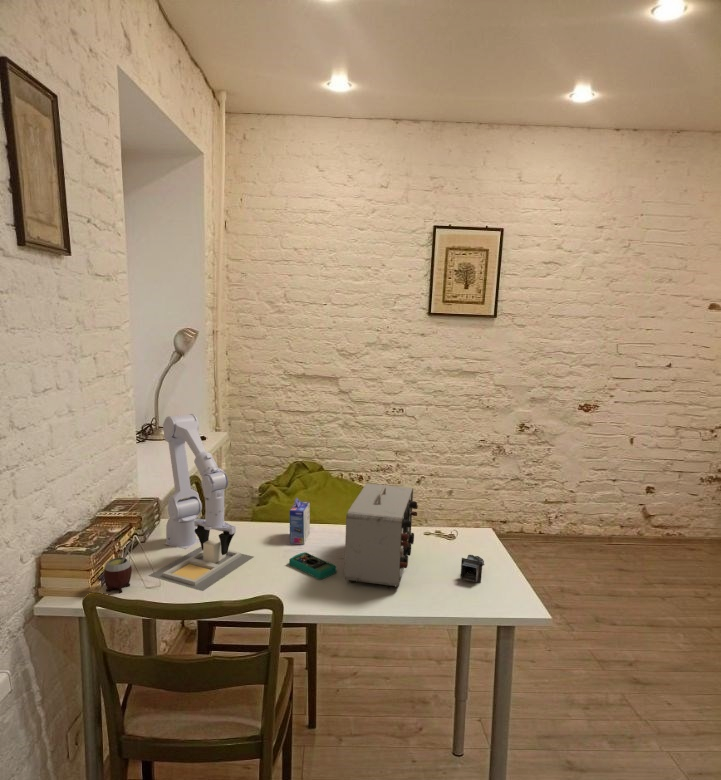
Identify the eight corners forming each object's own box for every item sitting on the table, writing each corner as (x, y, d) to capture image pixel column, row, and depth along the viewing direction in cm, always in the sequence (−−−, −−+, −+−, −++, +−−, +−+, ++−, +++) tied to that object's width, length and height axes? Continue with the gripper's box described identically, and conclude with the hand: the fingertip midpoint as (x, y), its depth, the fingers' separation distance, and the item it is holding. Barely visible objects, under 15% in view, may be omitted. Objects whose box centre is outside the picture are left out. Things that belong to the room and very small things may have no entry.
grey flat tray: (148, 577, 157) (148, 572, 157) (204, 546, 180) (204, 541, 180) (202, 592, 149) (202, 587, 149) (254, 558, 172) (254, 553, 172)
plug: (203, 561, 167) (203, 543, 166) (216, 553, 173) (216, 535, 172) (213, 564, 166) (213, 545, 165) (226, 556, 172) (226, 538, 171)
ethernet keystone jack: (486, 568, 171) (488, 549, 170) (479, 586, 159) (480, 566, 158) (467, 564, 173) (468, 545, 173) (458, 581, 161) (459, 561, 161)
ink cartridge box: (295, 532, 194) (295, 494, 192) (309, 534, 193) (310, 495, 192) (288, 543, 184) (289, 503, 182) (304, 545, 184) (305, 504, 182)
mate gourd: (101, 586, 150) (100, 535, 149) (131, 579, 155) (130, 530, 153) (108, 597, 145) (106, 545, 143) (138, 589, 149) (137, 538, 148)
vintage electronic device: (405, 593, 153) (409, 510, 150) (343, 585, 156) (346, 503, 153) (416, 549, 184) (419, 478, 181) (364, 543, 187) (367, 474, 184)
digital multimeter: (304, 558, 174) (304, 549, 174) (337, 573, 164) (337, 564, 164) (287, 565, 169) (287, 556, 168) (320, 581, 159) (320, 572, 159)
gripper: (187, 510, 166) (187, 551, 168) (225, 517, 161) (225, 560, 162) (202, 503, 173) (202, 543, 174) (239, 510, 167) (239, 552, 169)
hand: (214, 551), depth 169 cm, fingers open, 7 cm apart
